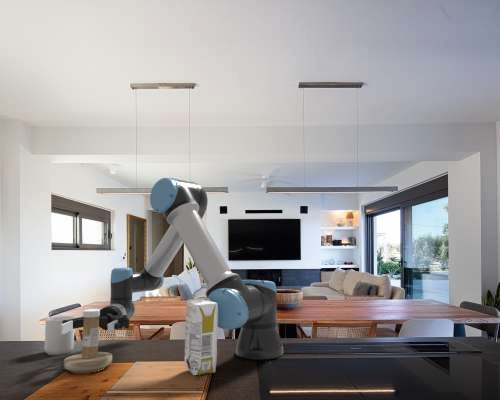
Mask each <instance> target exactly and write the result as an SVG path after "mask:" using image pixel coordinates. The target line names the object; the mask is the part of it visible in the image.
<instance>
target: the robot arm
mask: <svg viewBox="0 0 500 400" xmlns="http://www.w3.org/2000/svg"><path fill="white" fill-rule="evenodd" d="M208 201H209V199H208V194H207V192H206V189H204V187H202V186H201V185H200V184H199V183H196V182H194V181H193V182H192V181H187V180H181V179H177V178H174V177H163V178H160V179H159V180H157V181H156V182H155V183H154V184H153V186H152V188H151V191H150V194H149V203H150V207H151V208H152V210H153V211H154V212H156V213H158V214H163V216H164V219H165V221H166V222H167V224H168V225H169V227H168V229H167V230H166V231H165V233H164V235H163V237H162V238H161V240H160V242H159V243H158V245H157V246H156V248H155V249H154V252H153V253H152V255H151V256H150V258H149V260H148V261H147V263H146V264H145V266H144V268H143V269H142V270H141V271H133V267H115V268H113V269H112V270H111V273H110V301H109V303H110V304H109V305H107V306H104V307H102V308H101V309H99V310H100V316H99V329H100V328H101V329H102V330H104V331H107V335H111V334H112V333H114V332H116V331H118V330H122V329H123V328H124V329H129V328H130V320H131V318H132V317H133V316H134V315H135V313H136V312H135V311H136V307H135V304H134V302H133V294H136V293H141V292H151V291H154V290H156V291H157V290H159V289H160V288H162V287H163V285H164V281H165V279H164V273H165V272H166V270H167V269H168V268H169V266H170V264H171V263H172V261H173V260H174V258H175V257H176V256H177V254H178V252H179V250H180V249H181V248H182V245H183V244H184V246H185V248H186V249H187V251H188V254H189V255H190V257H191V259H192V260H193V261H192V262H193V263H194V264H195V266H196V269H197V270H198V272H199V274H200V275H201V278H202V280H203V281H204V284H205V285H206V290H205V296H206V298H208V299H210V300H211V301H212V302H216V303H217V305H218V329H222V330H234V329H235V330H236V329H239V328H240V331H239V335H238V338H237V343H236V345H235V346H236V347H235V355H236V356H237V357H239V358H242V359H245V360H246V359H247V360H271V359H276V358H279V357H281V356H283V354H284V346H283V343H282V339H281V336H280V334H279V331H278V317H277V315H278V311H277V309H278V307H277V304H278V303H277V294H278V292H277V286H276V283H275V281H270V280H260V279H257V280H256V279H242V277H241V275H240V274H238V273H234V272H232V270H231V269H230V267H229V265H228V264H227V262H226V259H225V258H224V256H223V255H222V253H221V251H220V249H219V248H218V245H217V244H216V242H215V240H214V238H213V237H212V235H211V234H210V232H209V230H208V229H207V227H206V225H205V223H204V221H203V217H204V216H205V213H206V211H207V208H208V203H209V202H208ZM83 324H84V317H83V316H80V317H75V318H73V319H68V320H63V323H62V324H61V325H60V335H63V334H65V333H67V332H70V331H72V330H73V329H75V330H76V329H81V328H83Z"/></svg>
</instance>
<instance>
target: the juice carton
mask: <svg viewBox="0 0 500 400" xmlns="http://www.w3.org/2000/svg"><path fill="white" fill-rule="evenodd" d="M186 301H187V302H186V306H185V307H186V309H185V325H184V327H185V328H184V329H185V331H184V364H185V368H186V369H187V370H188V371H189V372H190V374H192V375H193V376H194V375H199V376H201V375H200V374H204V375H206V374H205V373H209V374H214V373H216V368H217V360H218V359H217V358H218V331H219V330H218V329H219V327H218V305H217V303H216V302H212V301H211V300H210V299H208V298H207V297H198V298H191V299H189V298H188V299H187V300H186Z"/></svg>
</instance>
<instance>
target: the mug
mask: <svg viewBox="0 0 500 400" xmlns="http://www.w3.org/2000/svg"><path fill="white" fill-rule="evenodd" d="M73 318H76V317H75V316H72V315H60V316H59V315H58V316H53V317H48V318H45V325H44V326H45V329H44V330H45V331H44V336H45V337H44V352H45V353H46V354H47V355H48V356H58V355H64V354H68V353H71V351H72V350H74V347H75V345H74V344H75V333H76V331H75V330H76V328H75V329H73V330H72V331H70V332H67V333H65V334H63V335H60V325H61V324H62V323H63V320H68V319H73Z"/></svg>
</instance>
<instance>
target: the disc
mask: <svg viewBox="0 0 500 400" xmlns="http://www.w3.org/2000/svg"><path fill="white" fill-rule="evenodd" d="M112 363H113V354H112V353H111V352H107V351H98V356H97V357H96V358H91V359H83V358H82V352H80V353H76V354H73V355H69V356H68V357H66V358H64V360H63V369H64V370H67V371H69V373H71V374H77V375H78V374H79V375H80V374H81V375H83V374H84V373H85V374H90V373H89V372H93V373H95V372H94V371H97V372H99V371H98V370H101V369H103V368H105V367H106V366H107V367H108V366H110V365H111V364H112ZM107 367H106V368H107ZM106 368H105V369H106ZM103 370H104V369H103ZM101 371H102V370H101Z"/></svg>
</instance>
